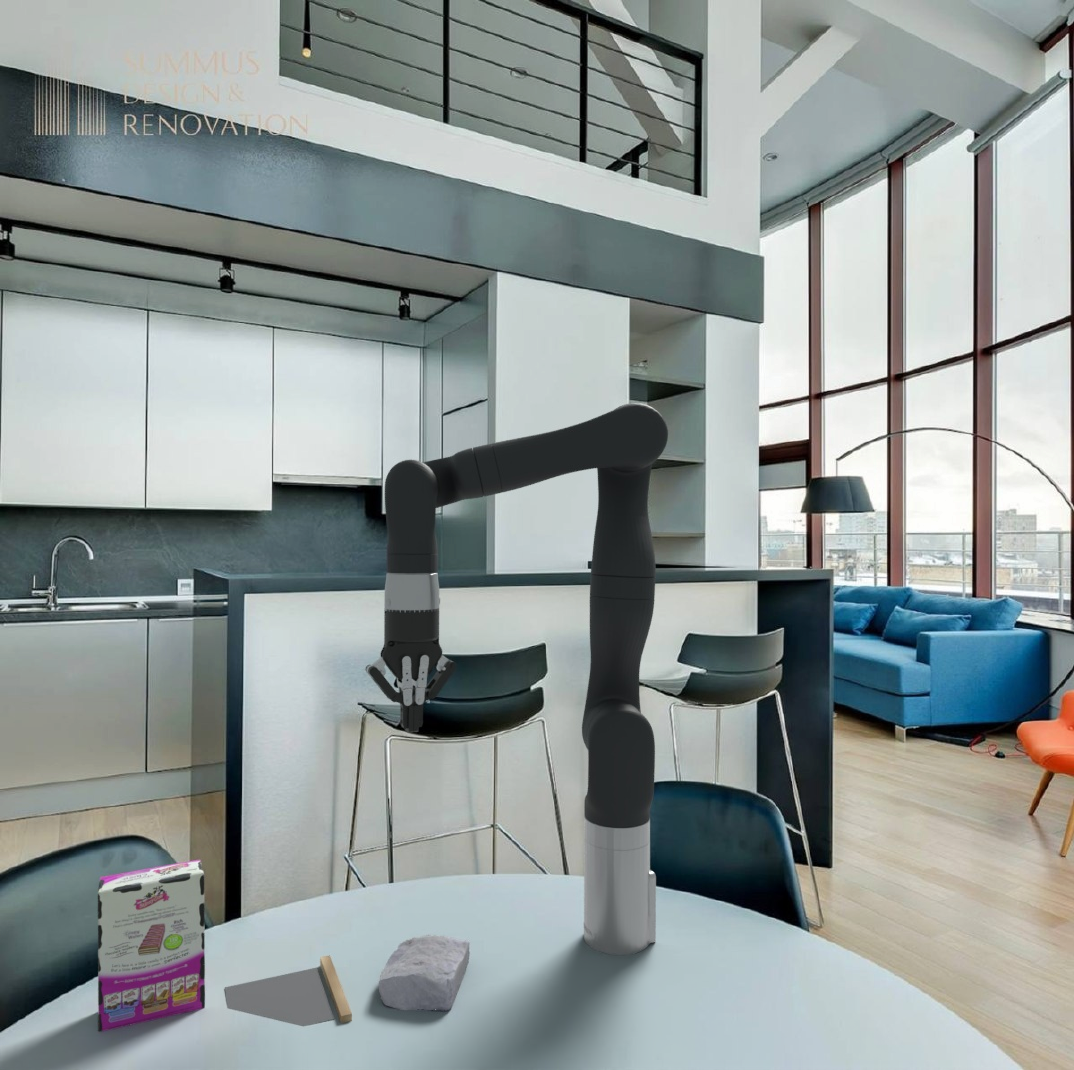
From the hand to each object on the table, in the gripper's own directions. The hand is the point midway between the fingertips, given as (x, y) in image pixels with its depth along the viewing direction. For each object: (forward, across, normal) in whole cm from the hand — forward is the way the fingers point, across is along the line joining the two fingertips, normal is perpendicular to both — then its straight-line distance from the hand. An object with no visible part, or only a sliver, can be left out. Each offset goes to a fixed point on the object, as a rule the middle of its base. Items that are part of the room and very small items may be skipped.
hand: (411, 730), depth 110 cm
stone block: (+28, +6, +9) cm, 30 cm away
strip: (+29, +12, +8) cm, 32 cm away
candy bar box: (+29, +32, +4) cm, 44 cm away
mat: (+29, +18, +8) cm, 35 cm away
